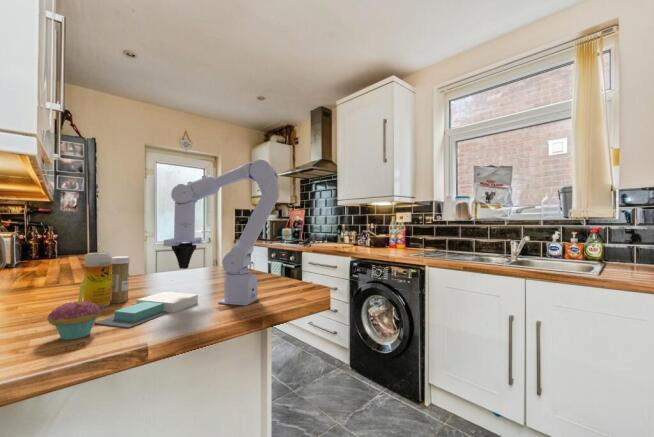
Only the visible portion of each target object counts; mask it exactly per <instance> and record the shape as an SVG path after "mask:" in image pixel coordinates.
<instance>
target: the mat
mask: <svg viewBox="0 0 654 437" xmlns="http://www.w3.org/2000/svg"><path fill="white" fill-rule="evenodd" d="M169 313H170V312H166V311H161V312H159V313H156V314H153V315H151V316H148V317H145V318H143V319H140V320H137V321H135V322H133V321H124V320H116V319H114V316H111V317H108V318H105V319H102V320H99V321H95V322H94V324H93V325H99V326H104V327H105V326H108V327H114V328H122V329H131V328H134V327H136V326H139V325H141V324H144V323H146V322H149V321H151V320H154V319H158V318H159V317H162V316H164V315H167V314H169Z"/></svg>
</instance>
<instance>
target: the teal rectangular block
mask: <svg viewBox="0 0 654 437" xmlns="http://www.w3.org/2000/svg"><path fill="white" fill-rule="evenodd" d="M161 311H163V303H154V302H142V303H139V304H137V303H136V304H134V305H133V304H132V305H130V306H127V307H126V306H125V307H124V308H120V309H116V310H114V313H113V314H114V315H113V317H114V319H116V320H124V321H133V322H135V321H137V320H140V319H143V318H145V317H148V316H151V315H153V314H156V313H159V312H161Z"/></svg>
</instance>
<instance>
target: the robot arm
mask: <svg viewBox="0 0 654 437" xmlns="http://www.w3.org/2000/svg"><path fill="white" fill-rule="evenodd" d="M243 180H247V181H252V182H256V183H257V185H258V188H259V190H260V193H261V196H260V198H259V200H258V201H257V204H256V206H255V207H254V209H253V211H252V213H251V215H250V217H249V219H248V221H247V223H246V225H245V227H244V228H243V231H242V233H241V235H240V236H239V238H238V240H237V241H236V242H235V243H234V245H233V246H232V248H231V249H230V251H229V252H228V253H226V254H225V255H224V256H223V258H222V263H221V264H222V267H223V269H224V270H225V271H224V296H223V298H222V299H220V300H218V301H217V303H218V304H224V305H226V304H227V305H235V306H249V305H250V304H252V303H254V302H255V301H257V300H258V299H259V297H258V276H257V274H255V273H251V272H250V269H249V265H250V264H251V261H252V254H253V252H254V246H255V245H256V242H257V241H258V238H259V236H260V234H261V232H262V231H263V229H264V227H265V225H266V224H267V221H268V220H269V217H270V216H271V213H272V212H273V210H274V208H275V205H276V203H277V202H278V200H279V197H280V189H279V176H278V173H277V172H276V170H275V168H274V167H273V166H272V165H270V163H269V162H268V161H267V160H264V159H257V160H254V162H253V161H250V162H247V163H245V164H243V165H240V166H239V167H237V168H234V169H232V170H229V171H227V172H225V173H223V174H220V175H218V176H216V177H214V176H212V175H205V174H204V175H202V176H201V178H200V179H199V178H198V179H197V180H194V181H187V182H186V183H187V184H184V183H178V184H177V185H175V186H174V187H173V188H172V190H171V193H170V196H171V198H172V200H173V201H174V220H173V221H174V222H173V223H174V225H173V226H174V228H173V232H174V233H173V237H172V238H168V239H163V247H166V248H167V247H169V248H170V247H171V250H172V252H173V253H174V254H175V257H176V260H177V264H178V268H179V269H183V270H184V269H185V270H186V269H188V268H189V264H190V262H191V259H192V256H193V254H194V252H195V250H196V249H197V244H203V237H201V236H198V237H197V236H196V237H195V233H196V232H195V229H196V228H195V226H196V225H195V224H196V203H197V202H198V201H199V200H202V199H204V198H207V197H209V196H212V195H215V194H217V193H218V192H219V190H220V189H221V188H222V187H223V188H224V187H225V186H228V185H232V184H234V183H235V184H236V183H237V182H241V181H243Z"/></svg>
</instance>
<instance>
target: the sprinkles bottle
mask: <svg viewBox="0 0 654 437" xmlns="http://www.w3.org/2000/svg"><path fill="white" fill-rule="evenodd" d="M130 258H131V257H130V256H126V255H125V256H124V255H120V256H112V268H111V302H110V304H121V303H125V302H128V301H129V280H130V279H129V278H130V274H129V265H130V264H129V263H130Z"/></svg>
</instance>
